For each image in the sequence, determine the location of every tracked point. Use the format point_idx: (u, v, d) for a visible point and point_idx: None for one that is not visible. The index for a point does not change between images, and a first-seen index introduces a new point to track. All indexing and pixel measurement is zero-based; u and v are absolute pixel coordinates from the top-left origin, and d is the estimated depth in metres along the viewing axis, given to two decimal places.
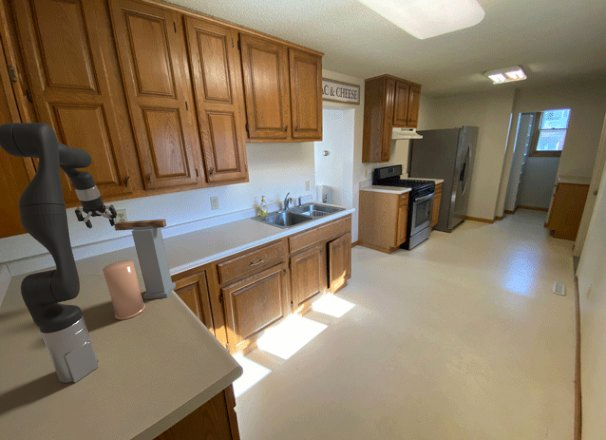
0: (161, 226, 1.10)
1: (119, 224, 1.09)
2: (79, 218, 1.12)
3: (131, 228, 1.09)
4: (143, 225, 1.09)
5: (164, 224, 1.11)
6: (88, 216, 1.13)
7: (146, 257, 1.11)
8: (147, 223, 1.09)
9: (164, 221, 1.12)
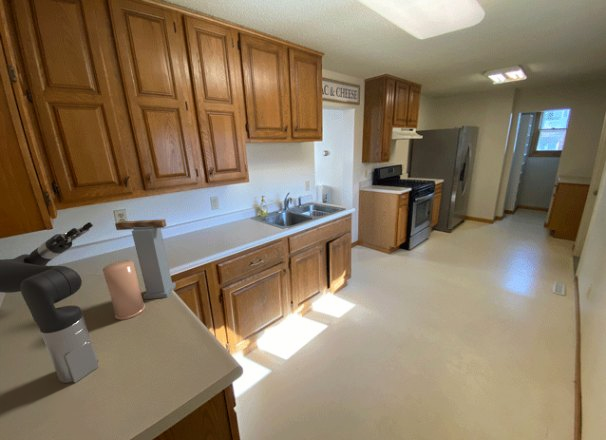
0: (161, 226, 1.10)
1: (120, 224, 1.09)
2: (86, 231, 1.16)
3: (131, 228, 1.10)
4: (143, 225, 1.10)
5: (164, 224, 1.11)
6: (79, 236, 1.13)
7: (146, 257, 1.11)
8: (147, 223, 1.09)
9: (164, 221, 1.11)
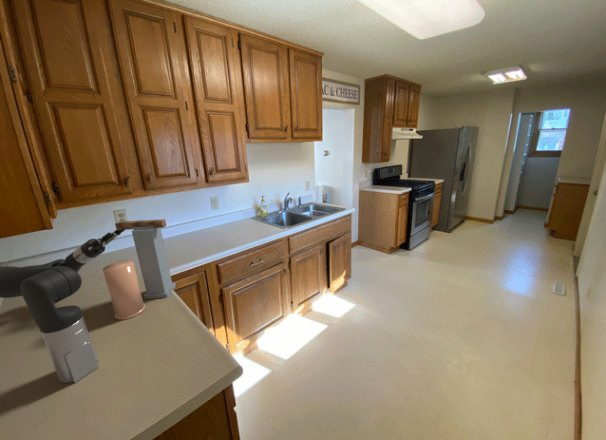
0: (161, 226, 1.10)
1: (120, 224, 1.09)
2: None
3: (131, 228, 1.10)
4: (143, 225, 1.10)
5: (164, 224, 1.11)
6: (111, 240, 1.15)
7: (146, 257, 1.11)
8: (147, 223, 1.09)
9: (164, 221, 1.11)
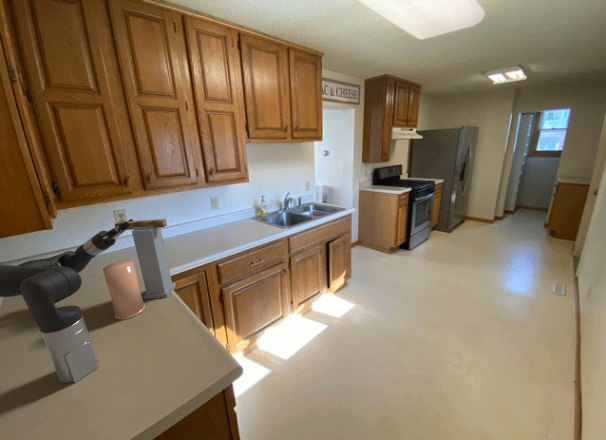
0: (161, 226, 1.10)
1: (119, 224, 1.09)
2: None
3: (131, 228, 1.10)
4: (143, 225, 1.10)
5: (164, 224, 1.12)
6: (121, 233, 1.13)
7: (146, 257, 1.11)
8: (147, 223, 1.10)
9: (164, 221, 1.12)
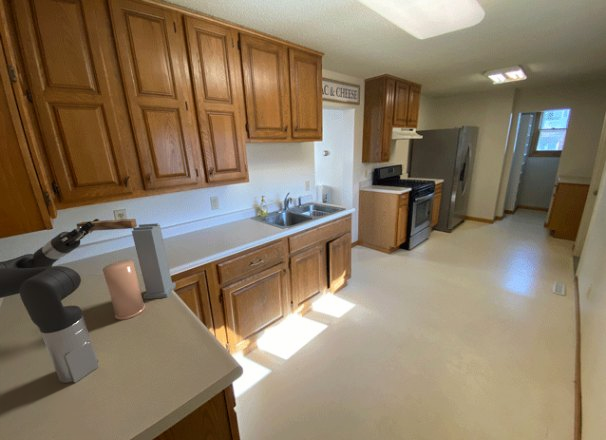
0: (130, 227, 0.97)
1: (82, 224, 0.96)
2: None
3: (96, 229, 0.97)
4: (109, 225, 0.97)
5: (133, 224, 0.99)
6: (86, 234, 1.00)
7: (146, 257, 1.11)
8: (114, 223, 0.97)
9: (134, 221, 0.99)
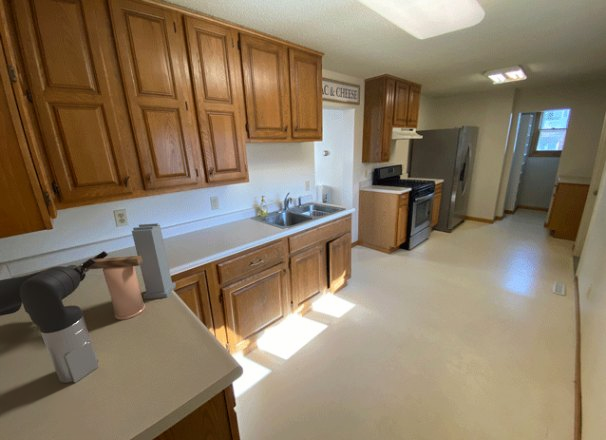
0: (136, 264, 0.99)
1: None
2: None
3: (102, 267, 0.99)
4: (116, 263, 0.99)
5: (139, 262, 1.01)
6: None
7: (146, 257, 1.11)
8: (120, 261, 0.99)
9: (140, 258, 1.01)
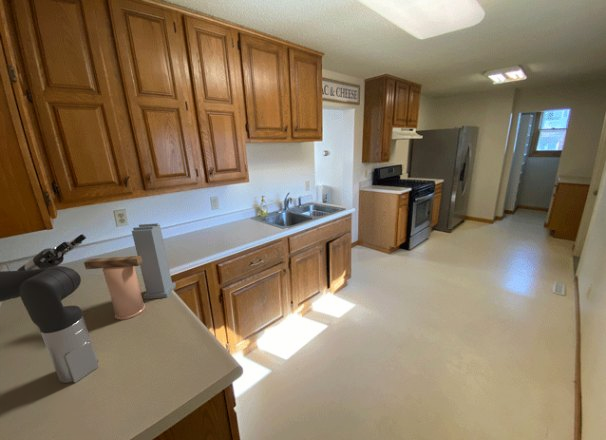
0: (136, 264, 0.99)
1: (89, 262, 0.98)
2: (78, 244, 1.06)
3: (103, 267, 0.99)
4: (116, 263, 0.99)
5: (139, 262, 1.01)
6: None
7: (146, 257, 1.11)
8: (120, 261, 0.99)
9: (139, 258, 1.01)
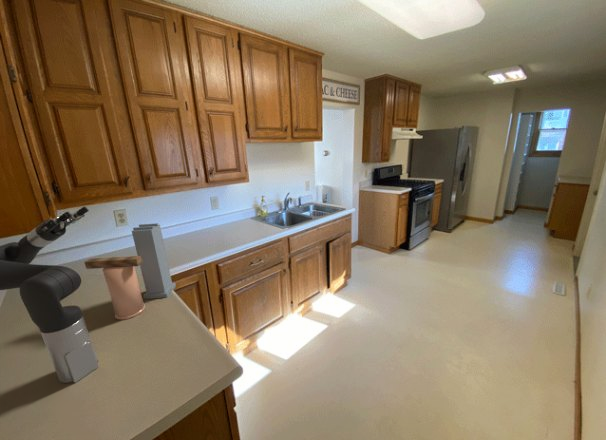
0: (135, 265, 0.99)
1: (90, 262, 0.98)
2: (81, 217, 1.05)
3: (103, 266, 0.99)
4: (116, 263, 0.99)
5: (139, 262, 1.00)
6: (73, 222, 1.02)
7: (146, 257, 1.11)
8: (120, 261, 0.99)
9: (139, 259, 1.01)
